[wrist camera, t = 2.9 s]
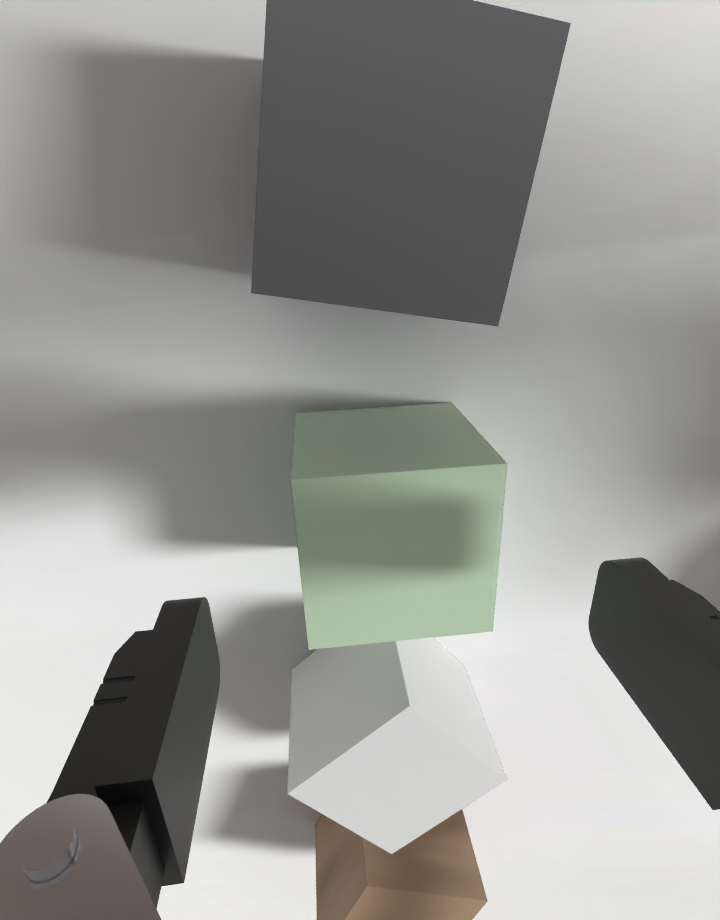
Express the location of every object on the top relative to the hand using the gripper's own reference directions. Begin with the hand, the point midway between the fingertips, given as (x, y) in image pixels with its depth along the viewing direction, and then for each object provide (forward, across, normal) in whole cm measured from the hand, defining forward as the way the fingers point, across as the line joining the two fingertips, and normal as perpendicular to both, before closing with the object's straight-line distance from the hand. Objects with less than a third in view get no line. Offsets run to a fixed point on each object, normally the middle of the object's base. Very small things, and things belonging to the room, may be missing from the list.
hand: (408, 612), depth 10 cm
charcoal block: (+7, 0, -8) cm, 11 cm away
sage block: (+7, 0, 0) cm, 7 cm away
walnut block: (+7, 0, +18) cm, 19 cm away
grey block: (+7, 0, +9) cm, 11 cm away
